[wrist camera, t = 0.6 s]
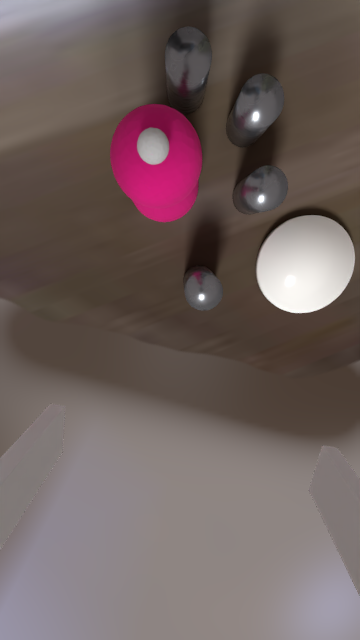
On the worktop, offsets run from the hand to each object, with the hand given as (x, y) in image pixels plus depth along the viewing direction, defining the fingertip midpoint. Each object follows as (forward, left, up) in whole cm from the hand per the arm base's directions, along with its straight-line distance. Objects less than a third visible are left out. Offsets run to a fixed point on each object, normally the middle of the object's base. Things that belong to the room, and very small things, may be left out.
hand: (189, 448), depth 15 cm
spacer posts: (-13, -8, -25) cm, 29 cm away
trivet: (-15, +8, -25) cm, 30 cm away
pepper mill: (-11, -11, -25) cm, 29 cm away
